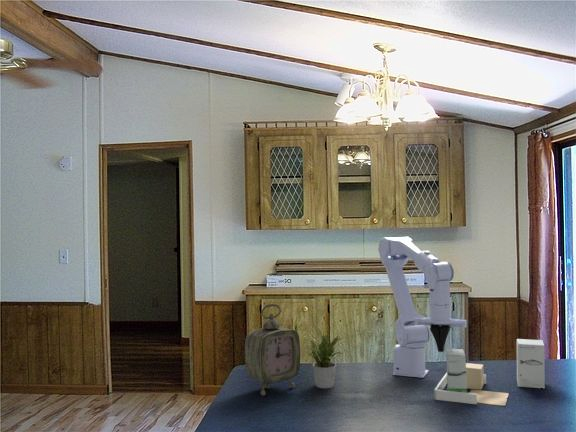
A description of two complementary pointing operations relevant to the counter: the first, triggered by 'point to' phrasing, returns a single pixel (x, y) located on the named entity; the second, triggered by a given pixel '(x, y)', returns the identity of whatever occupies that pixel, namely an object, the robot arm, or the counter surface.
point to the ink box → (456, 370)
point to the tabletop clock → (272, 353)
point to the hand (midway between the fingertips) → (441, 351)
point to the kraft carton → (474, 376)
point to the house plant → (324, 361)
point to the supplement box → (530, 363)
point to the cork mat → (491, 397)
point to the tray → (454, 393)
